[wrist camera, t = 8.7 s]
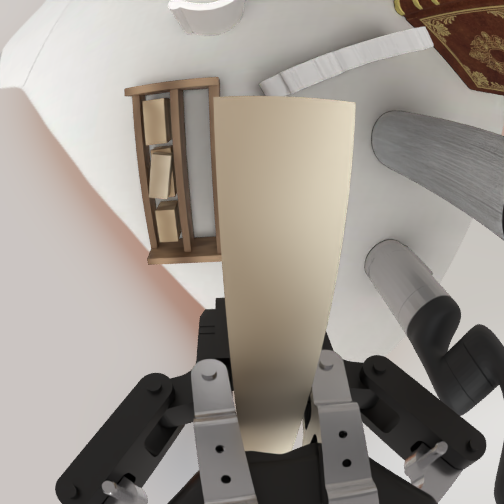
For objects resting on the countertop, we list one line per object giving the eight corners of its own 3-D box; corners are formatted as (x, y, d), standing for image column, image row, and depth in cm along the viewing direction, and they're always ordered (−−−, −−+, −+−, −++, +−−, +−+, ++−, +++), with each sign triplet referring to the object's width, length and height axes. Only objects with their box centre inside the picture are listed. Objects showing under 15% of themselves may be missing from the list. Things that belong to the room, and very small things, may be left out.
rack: (219, 81, 33) (218, 76, 28) (226, 241, 46) (226, 261, 41) (138, 90, 33) (124, 88, 28) (156, 245, 45) (148, 264, 40)
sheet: (266, 102, 15) (355, 102, 4) (263, 336, 23) (284, 470, 13) (223, 103, 14) (213, 96, 4) (235, 337, 23) (244, 473, 13)
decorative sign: (266, 99, 37) (274, 104, 25) (258, 84, 36) (260, 81, 23) (395, 50, 31) (449, 43, 19) (388, 36, 30) (440, 23, 17)
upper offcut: (173, 153, 36) (171, 155, 34) (169, 194, 38) (167, 199, 37) (155, 151, 35) (151, 154, 33) (152, 192, 38) (148, 197, 36)
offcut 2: (178, 200, 42) (174, 209, 38) (181, 229, 44) (178, 241, 41) (160, 201, 42) (155, 210, 38) (164, 230, 44) (159, 242, 41)
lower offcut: (174, 144, 38) (170, 148, 35) (178, 190, 41) (175, 196, 39) (155, 147, 38) (150, 150, 35) (160, 191, 41) (156, 198, 38)
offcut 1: (170, 98, 34) (163, 98, 30) (172, 138, 37) (166, 142, 33) (151, 101, 34) (142, 101, 30) (154, 140, 37) (146, 145, 33)
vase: (375, 173, 42) (495, 259, 19) (365, 114, 37) (506, 153, 14) (421, 163, 41) (541, 232, 18) (415, 107, 36) (551, 145, 13)
